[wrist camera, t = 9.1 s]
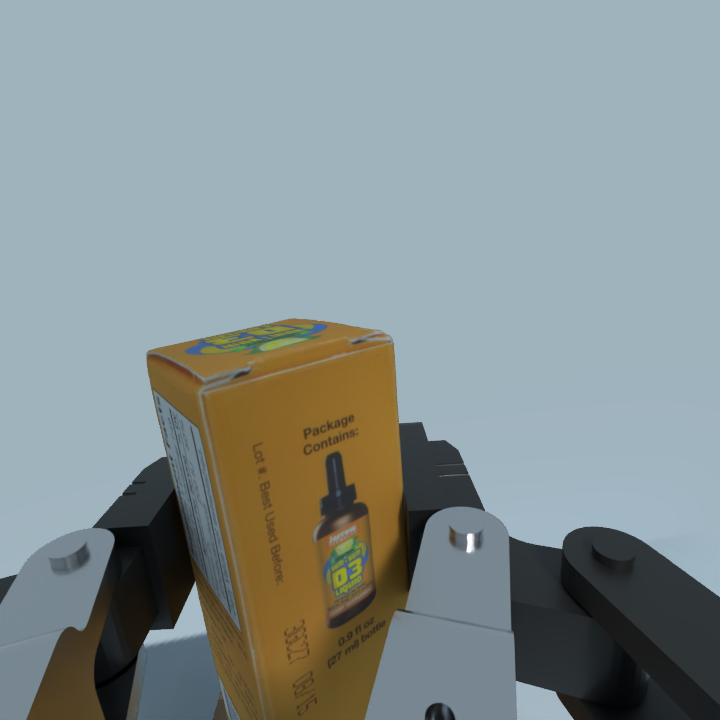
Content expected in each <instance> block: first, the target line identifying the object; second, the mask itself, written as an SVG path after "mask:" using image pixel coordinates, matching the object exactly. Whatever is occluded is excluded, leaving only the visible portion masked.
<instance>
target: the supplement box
mask: <svg viewBox="0 0 720 720" xmlns="http://www.w3.org/2000/svg"><path fill="white" fill-rule="evenodd" d="M146 356H147V368H148V374H149V378H150V384H151V389H152V394H153V398H154V403H155V408H156V412H157V416H158V421H159V425H160V429H161V433H162V437H163V442H164V446H165V450H166V454H167V458H168V462H169V467H170V471H171V476H172V480H173V485H174V488H175V493H176V497H177V502H178V506H179V510H180V515H181V519H182V523H183V527H184V532H185V537H186V542H187V546H188V550H189V554H190V558H191V563H192V567H193V572H194V576H195V581H196V585H197V590H198V595H199V600H200V604H201V608H202V612H203V616H204V621H205V625H206V630H207V634H208V638H209V642H210V646H211V650H212V655H213V659H214V663H215V666H216V670H217V674H218V678H219V683H220V687H221V691H222V695H223V699H224V704H225V708H226V712H227V716H228V720H365V716H366V713H367V709H368V705H369V701H370V698H371V694H372V690H373V687H374V683H375V679H376V676H377V672H378V668H379V664H380V661H381V657H382V653H383V650H384V646H385V642H386V639H387V635H388V631H389V628H390V624H391V621H392V617H393V615H394V613H395V611H396V609H397V608H400V609H405V608H406V604H407V600H408V596H409V582H408V561H407V542H406V521H405V510H404V494H403V477H402V463H401V449H400V436H399V420H398V406H397V388H396V370H395V355H394V343H393V339H392V337H391V336H390V335H386V334H385V333H384V332H382V331H381V330H372V329H365V328H360V327H353V326H348V325H344V324H338V323H331V322H324V321H316V320H306V319H287V320H283V321H279V322H275V323H270V324H265V325H261V326H257V327H252V328H248V329H243V330H239V331H235V332H230V333H225V334H220V335H216V336H212V337H206V338H202V339H197V340H193V341H188V342H184V343H179V344H175V345H170V346H165V347H160V348H156V349H153V350H150V351H148V352H147V354H146Z"/></svg>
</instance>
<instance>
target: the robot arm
mask: <svg viewBox="0 0 720 720" xmlns="http://www.w3.org/2000/svg"><path fill="white" fill-rule="evenodd" d="M399 436H400V449H401V463H402V477H403V494H404V510H405V521H406V542H407V561H408V582H409V596H408V600H407V604H406V608H405V609H400V608H397V609H396V611H395V613H394V615H393V617H392V621H391V624H390V628H389V631H388V635H387V639H386V642H385V646H384V650H383V653H382V657H381V661H380V664H379V668H378V672H377V676H376V679H375V683H374V687H373V690H372V694H371V698H370V701H369V705H368V709H367V713H366V716H365V720H517V709H516V681H519V682H522V683H526V684H530V685H533V686H537V687H541V688H544V689H548V690H552V691H555V692H556V694H557V696H558V697H559V699H560V701H561V702H562V704H563V705H564V706H565V708H566V709H567V711H568V712H569V713H570V715H571V716H572V718H573V719H574V720H720V597H719V596H717V595H716V594H715V593H713V592H712V591H711V590H709V589H708V588H706V587H705V586H704V585H702V584H701V583H700V582H698V581H697V580H695V579H694V578H693V577H691V576H690V575H689V574H687V573H686V572H684V571H683V570H682V569H680V568H679V567H678V566H676V565H675V564H673V563H672V562H671V561H669V560H668V559H667V558H665V557H664V556H662V555H661V554H660V553H658V552H657V551H656V550H654V549H653V548H651V547H650V546H649V545H647V544H646V543H644V542H643V541H641V540H639V539H637V538H636V537H634V536H631V535H629V534H626V533H624V532H621V531H618V530H614V529H610V528H603V527H583V528H579V529H576V530H574V531H572V532H570V533H569V534H568V535H567V536H566V537H565V539H564V541H563V548H562V549H558V548H552V547H546V546H540V545H534V544H530V543H526V542H523V541H519V540H517V539H514V538H512V537H510V536H509V535H508V531H507V529H506V527H505V526H504V524H503V523H502V522H501V521H500V520H499V519H498V518H496V517H495V516H493V515H492V514H490V513H488V512H485V509H484V507H483V505H482V503H481V500H480V498H479V496H478V494H477V492H476V489H475V487H474V485H473V483H472V480H471V478H470V476H469V475H468V471H467V469H466V467H465V465H464V462H463V460H462V458H461V456H460V453H459V451H458V450H457V449H456V448H455V447H453V446H452V445H451V444H449V443H448V442H446V441H445V440H442V441H428V440H427V437H426V433H425V430H424V427H423V424H422V422H416V423H400V424H399ZM194 583H195V576H194V572H193V567H192V563H191V558H190V554H189V550H188V546H187V542H186V537H185V532H184V527H183V523H182V519H181V515H180V510H179V506H178V502H177V497H176V493H175V488H174V485H173V480H172V476H171V471H170V467H169V462H168V458H167V457H162V458H160V459H159V460H157V461H156V462H154V463H152V464H151V465H149V466H148V467H146V468H145V469H144V470H143V471H142V472H141V473H140V474H139V475H138V476H137V477H136V478H135V480H134V481H133V482H132V485H129V487H128V488H127V489H126V490H125V491H124V492H123V495H122V496H120V497H119V498H118V499H117V500H116V501H115V502H114V503H113V505H112V506H111V507H110V508H109V509H108V511H107V512H106V513H105V514H104V515H103V516H102V517H101V518H100V519H99V521H98V522H97V523H96V524H95V525H94V526H93V527H92V528H91V529H83V530H79V531H75V532H72V533H69V534H66V535H64V536H61V537H59V538H57V539H55V540H53V541H51V542H50V543H48V544H46V545H45V546H43V547H42V548H40V549H39V550H37V551H36V552H35V553H34V554H33V555H31V557H30V558H29V559H28V560H27V561H26V562H25V564H24V565H23V567H22V569H21V570H20V572H19V574H17V575H13V576H9V577H6V578H2V579H0V720H137V716H138V709H139V703H140V697H141V691H142V685H143V679H144V673H145V667H146V659H147V656H146V651H145V648H144V644H143V642H144V640H145V638H146V636H147V634H148V633H149V631H150V630H161V629H174V626H175V624H176V622H177V620H178V618H179V615H180V613H181V611H182V609H183V607H184V605H185V602H186V600H187V598H188V596H189V594H190V592H191V589H192V587H193V585H194Z"/></svg>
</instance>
